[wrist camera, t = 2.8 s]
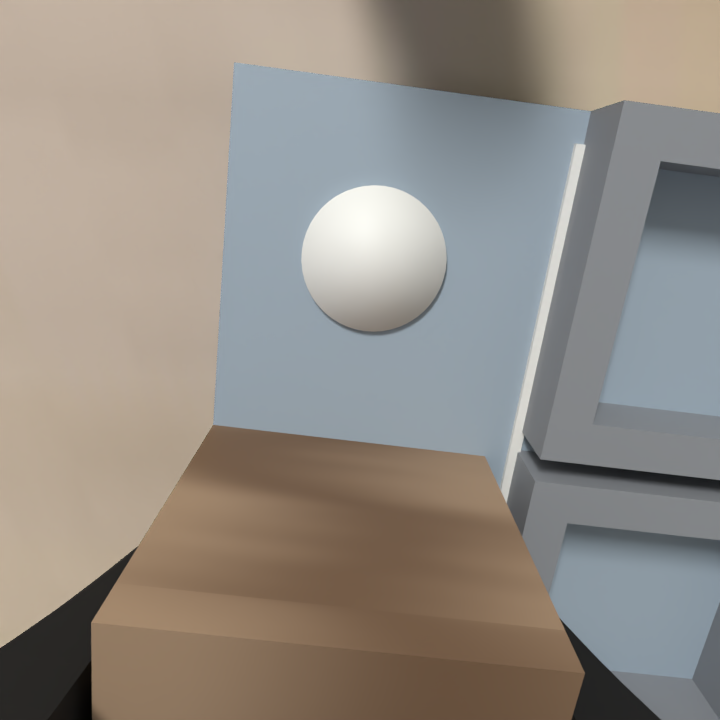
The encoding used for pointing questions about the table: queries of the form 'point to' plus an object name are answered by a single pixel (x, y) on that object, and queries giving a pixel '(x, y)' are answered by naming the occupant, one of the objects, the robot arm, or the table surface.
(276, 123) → the board
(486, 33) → the table surface
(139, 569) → the wooden toy block
